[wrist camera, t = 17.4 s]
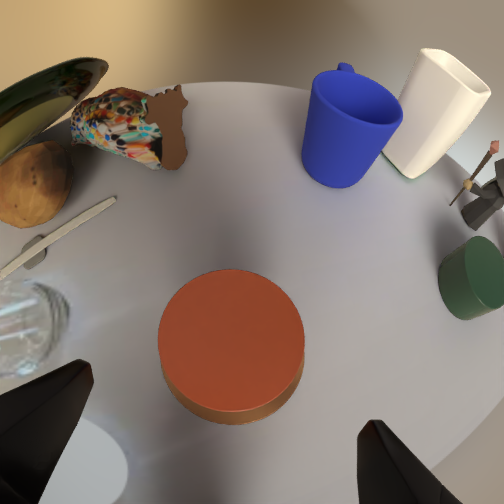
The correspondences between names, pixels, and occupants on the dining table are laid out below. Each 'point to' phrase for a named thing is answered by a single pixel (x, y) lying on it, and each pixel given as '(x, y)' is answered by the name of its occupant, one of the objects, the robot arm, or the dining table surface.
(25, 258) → the thin beige stick
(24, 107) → the plate
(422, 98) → the cup
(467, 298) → the tin
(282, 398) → the cork mat
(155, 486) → the dining table surface
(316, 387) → the dining table surface
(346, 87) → the mug
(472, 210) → the wizard figurine
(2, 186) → the potato
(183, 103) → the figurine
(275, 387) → the top tin
